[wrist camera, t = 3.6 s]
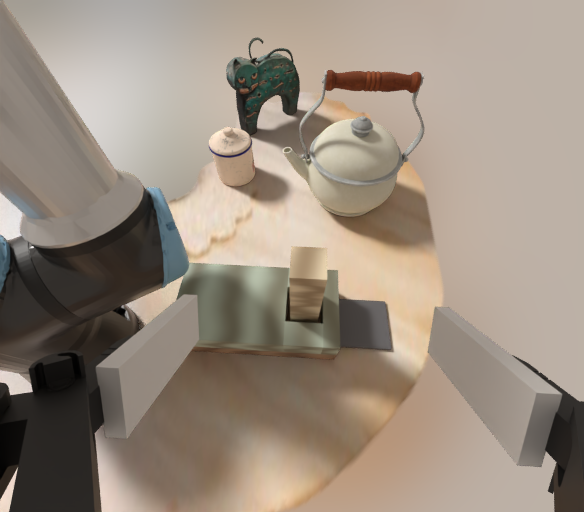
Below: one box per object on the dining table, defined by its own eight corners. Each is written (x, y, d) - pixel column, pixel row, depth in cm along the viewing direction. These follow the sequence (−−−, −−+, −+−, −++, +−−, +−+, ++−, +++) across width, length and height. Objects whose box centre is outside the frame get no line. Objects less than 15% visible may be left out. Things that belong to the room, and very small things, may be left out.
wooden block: (290, 325, 42) (289, 277, 29) (291, 301, 44) (291, 246, 31) (316, 327, 42) (327, 279, 29) (316, 302, 44) (326, 248, 31)
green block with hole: (182, 350, 43) (164, 337, 37) (200, 282, 50) (187, 262, 44) (333, 359, 42) (340, 348, 37) (332, 289, 49) (337, 270, 43)
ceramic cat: (245, 140, 72) (230, 52, 55) (232, 129, 75) (214, 42, 58) (302, 113, 79) (305, 27, 62) (288, 104, 81) (287, 19, 64)
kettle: (389, 168, 66) (434, 46, 45) (401, 227, 56) (466, 108, 35) (286, 164, 67) (283, 43, 46) (281, 222, 57) (274, 102, 36)
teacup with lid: (263, 176, 65) (258, 131, 55) (230, 193, 62) (218, 149, 52) (237, 151, 70) (228, 105, 60) (205, 165, 67) (190, 120, 57)
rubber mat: (339, 346, 43) (340, 346, 43) (338, 300, 48) (338, 299, 47) (390, 349, 43) (391, 349, 43) (384, 302, 47) (385, 301, 47)
